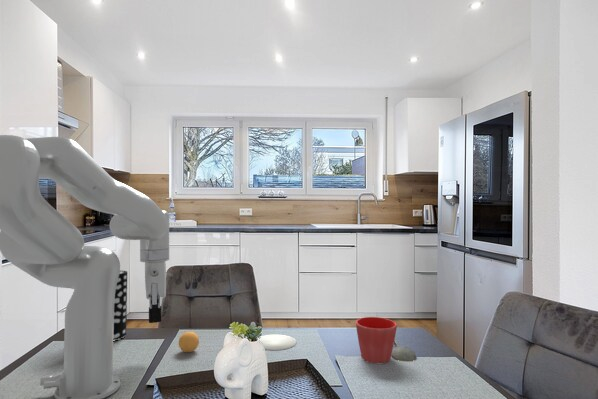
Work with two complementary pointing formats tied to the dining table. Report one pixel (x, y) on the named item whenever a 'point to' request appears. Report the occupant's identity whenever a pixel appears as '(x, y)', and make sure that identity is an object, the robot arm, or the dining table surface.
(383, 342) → the flower pot
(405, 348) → the soupspoon
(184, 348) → the ball
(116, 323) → the white-spotted black cylinder
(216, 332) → the dining table surface
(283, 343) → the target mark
